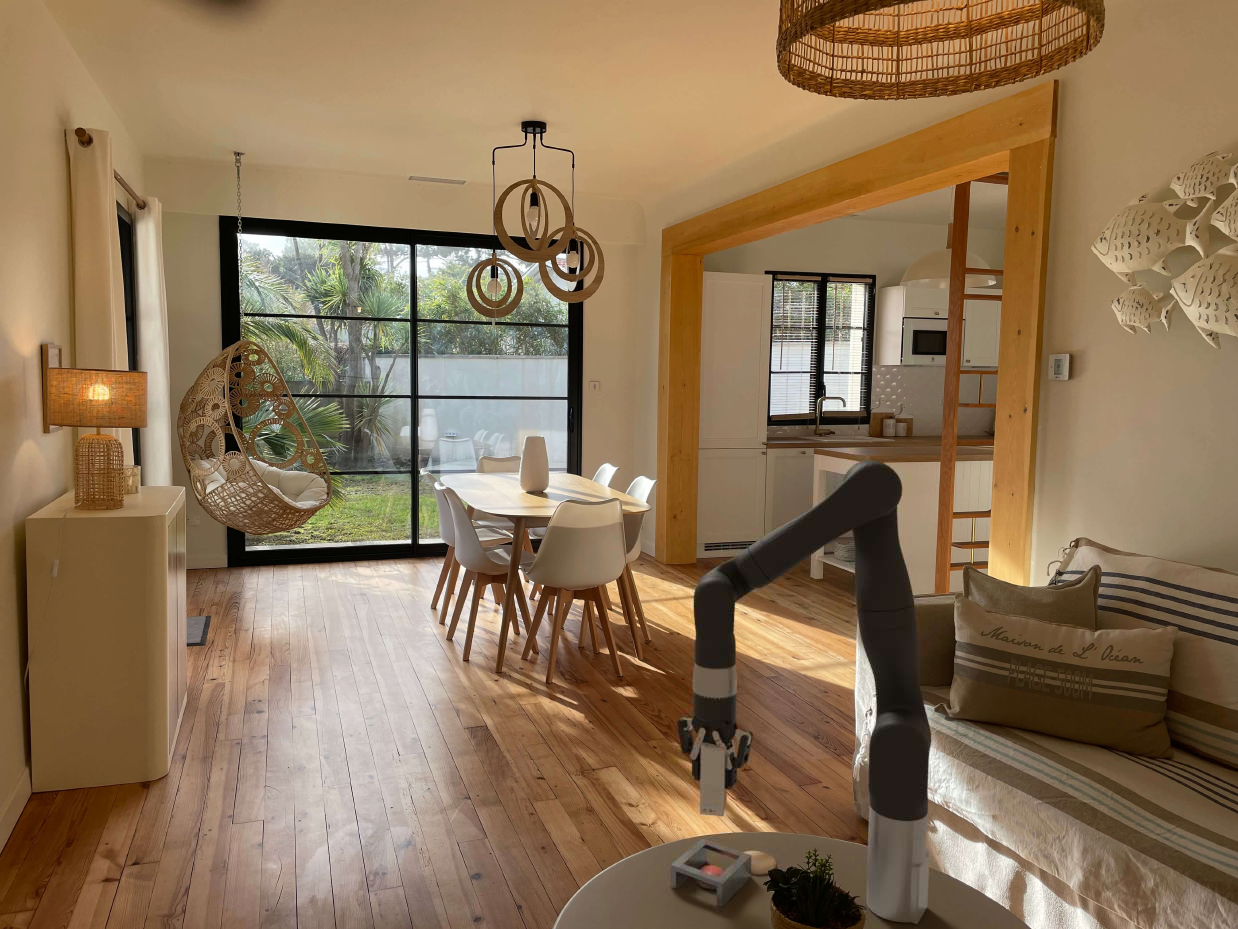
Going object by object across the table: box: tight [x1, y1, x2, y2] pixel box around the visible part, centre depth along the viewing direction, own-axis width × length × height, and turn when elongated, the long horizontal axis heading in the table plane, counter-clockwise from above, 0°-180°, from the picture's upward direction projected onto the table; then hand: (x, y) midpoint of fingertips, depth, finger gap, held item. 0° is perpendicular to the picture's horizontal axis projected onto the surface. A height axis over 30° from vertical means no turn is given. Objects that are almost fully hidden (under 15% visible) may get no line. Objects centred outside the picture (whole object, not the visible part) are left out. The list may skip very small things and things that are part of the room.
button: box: [694, 865, 725, 890], centre depth 154 cm, size 6×6×1 cm
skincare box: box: [699, 742, 728, 817], centre depth 152 cm, size 6×4×12 cm
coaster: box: [742, 850, 777, 876], centre depth 160 cm, size 7×7×1 cm
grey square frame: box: [670, 838, 752, 907], centre depth 154 cm, size 10×11×4 cm
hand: (713, 782), depth 152 cm, fingers closed on skincare box, 5 cm apart
